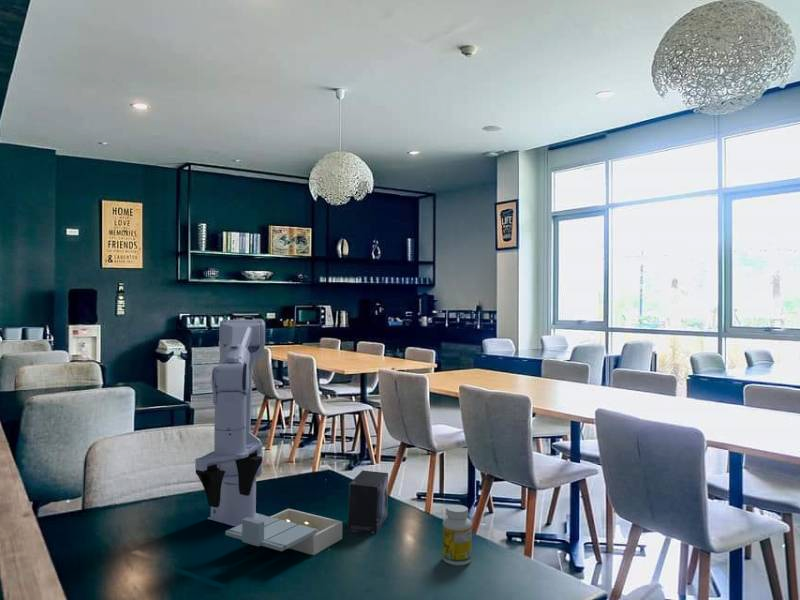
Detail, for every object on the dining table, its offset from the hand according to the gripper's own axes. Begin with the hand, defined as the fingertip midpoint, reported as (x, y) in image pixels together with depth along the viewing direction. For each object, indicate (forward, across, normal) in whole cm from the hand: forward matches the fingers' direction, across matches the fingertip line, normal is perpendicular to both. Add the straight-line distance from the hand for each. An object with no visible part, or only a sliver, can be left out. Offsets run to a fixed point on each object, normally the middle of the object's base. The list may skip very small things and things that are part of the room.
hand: (229, 500), depth 111 cm
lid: (+6, +3, -7) cm, 10 cm away
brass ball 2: (+10, +13, -7) cm, 18 cm away
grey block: (+10, +12, -7) cm, 17 cm away
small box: (+11, +26, -14) cm, 31 cm away
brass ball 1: (+10, +12, -3) cm, 16 cm away
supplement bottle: (+11, +21, -37) cm, 44 cm away
